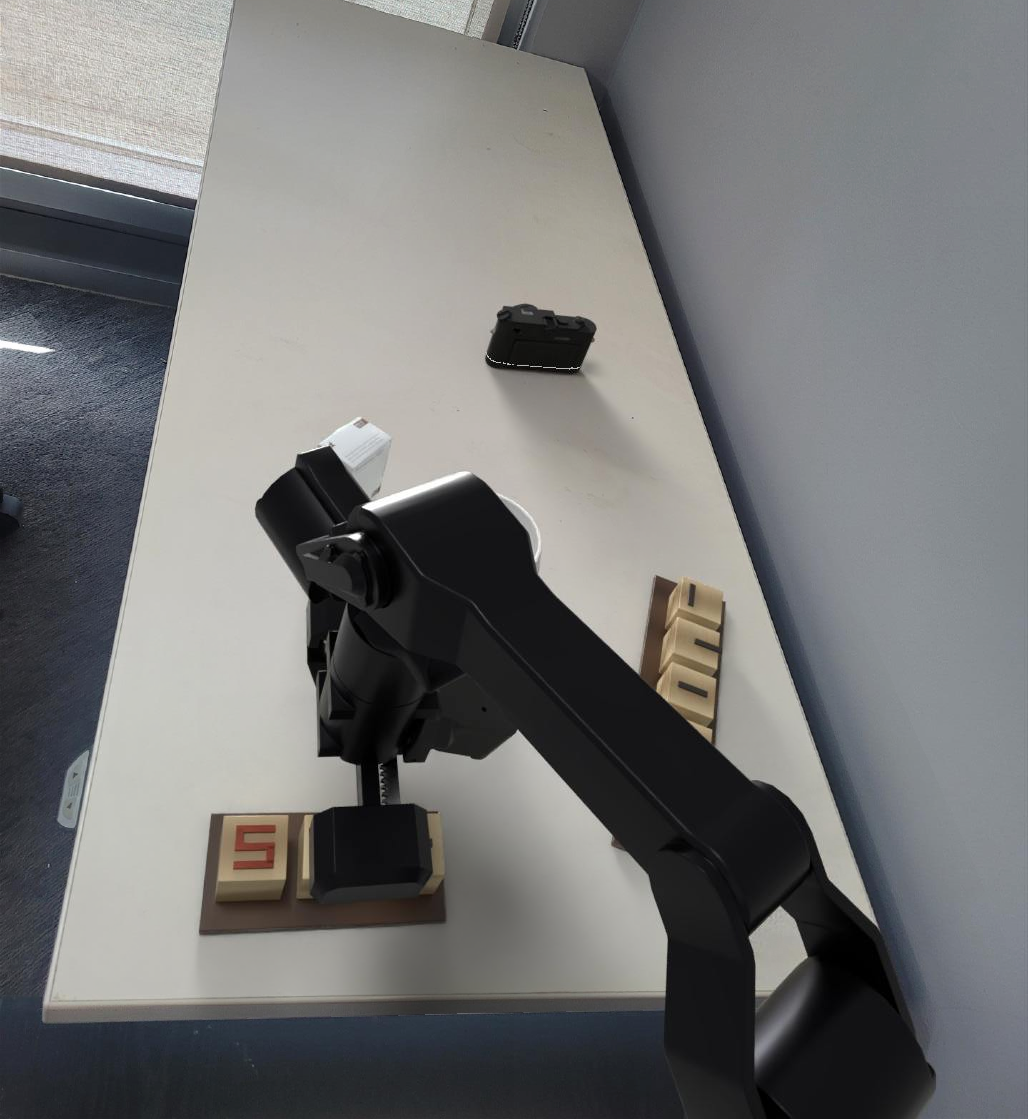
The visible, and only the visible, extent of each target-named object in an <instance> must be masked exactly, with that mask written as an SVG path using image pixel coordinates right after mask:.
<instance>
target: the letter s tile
mask: <svg viewBox="0 0 1028 1119" xmlns="http://www.w3.org/2000/svg"><path fill="white" fill-rule="evenodd" d="M288 821H289V816H288V815H262V816H224V819H223V825H222V831H221V837H220V847H219V858H218V868H217V879H216V890H215V900H214V901H215V902H225V901H253V900H279V899H280V898H281V894H282V891H283V888H284V884H285V881H286V868H287V844H288Z"/></svg>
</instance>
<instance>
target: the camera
mask: <svg viewBox="0 0 1028 1119" xmlns="http://www.w3.org/2000/svg"><path fill="white" fill-rule="evenodd" d="M597 330H598V329H597V325H596V323H595V322H594V321H593V320H592V319H589V318H587V317H583V316H580V315H576V316H573V315H572V316H571V315H561V314H555V311H554V310H551V309H541V308H538V307H537V306H535V305H533V304H530V303H527V302H526V303H518V304H516V305H515V304H514V305H513V306H511V305H503V306H502V308H501V310H499V311H497V313H496V322H495V326H494V327H492V328H490V329H489V332H490V334H491V337H490V340H489V342H488V346H487V349H486V352H487V355H488V356H489V358H491V360H494V361H496V362H501V363H496V362H493V361H491V360H490V359H489V358H488V357H487V355H486V354H484V355H485V356H484V361H485V362H486V364H487V365H488V366H490V367H492V368H494V369H503V370H514V371H515V370H516V371H517V370H518V371H527V372H528V371H529V372H541V373H542V372H543V373H555V374H568V375H574V374H578V372H579V371H580V369H581V368H582V366H581V365H583V363H584V360H585V359H586V357H587V354H588V352H589V350H590V347H591V345H592V343H594V342H595V341H596V339H595V334H596V332H597ZM503 362H504V363H506V364H503ZM507 363H509V364H511V365H507ZM512 364H514V365H512ZM517 365H529V366H517ZM530 366H542V367H530ZM580 366H581V367H580ZM543 367H556V368H571V367H573V368H577V367H580V368H578V369H570V370H569V369H556V368H543Z"/></svg>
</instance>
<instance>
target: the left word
mask: <svg viewBox="0 0 1028 1119" xmlns="http://www.w3.org/2000/svg"><path fill="white" fill-rule="evenodd" d="M320 812H321V811H318V812H317V811H304V812H303V811H302V812H301V811H299V812H295V811H293V812H287V811H286V812H214V813H213V812H212V813H211V814H210V821H209V830H208V840H207V850H206V858H205V868H204V878H203V886H202V887H203V888H202V899H201V908H200V918H199V928H198V935H207V934H208V935H210V934H230V933H231V934H232V933H233V934H234V933H253V932H275V931H295V930H296V931H297V930H316V929H317V930H319V929H320V930H321V929H338V928H339V929H342V928H360V927H361V928H363V927H381V926H382V927H384V926H405V925H406V926H407V925H428V924H430V925H431V924H444V923H446V921H447V909H446V899H445V897H446V896H445V882H444V877H445V875H446V869H445V857H444V842H443V829H442V817H441V816H442V814H441V813H439V810H427V816H428V826H429V836H430V845H431V855H432V865H433V874H432V876H431V877H430V879H429V881H428V883H427V884H426V886H425V887H424V889H423V890H422V891H421V892H420V894H419V895H418V896H417V897H416V898H403V899H390V900H377V901H364V902H351V903H338V904H325V905H320V904H319V903H318V902H317V901H316V900H315V899H314V898H313V897H312V896H311V895H310V894H309V828H310V825H311V821H312V818H313V815H315V814H317V813H320ZM262 815H288V816H289V821H288V844H287V868H286V881H285V884H284V888H283V891H282V894H281V898H280V899H279V900H253V901H225V902H215V901H214V900H215V890H216V879H217V868H218V858H219V847H220V837H221V831H222V825H223V819H224V816H262Z"/></svg>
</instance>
